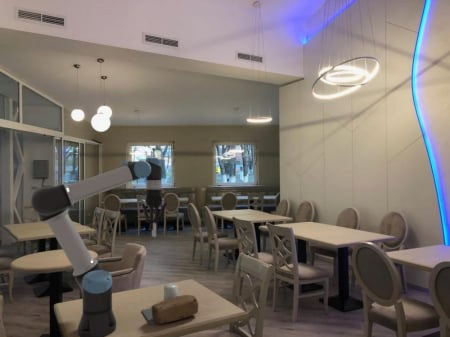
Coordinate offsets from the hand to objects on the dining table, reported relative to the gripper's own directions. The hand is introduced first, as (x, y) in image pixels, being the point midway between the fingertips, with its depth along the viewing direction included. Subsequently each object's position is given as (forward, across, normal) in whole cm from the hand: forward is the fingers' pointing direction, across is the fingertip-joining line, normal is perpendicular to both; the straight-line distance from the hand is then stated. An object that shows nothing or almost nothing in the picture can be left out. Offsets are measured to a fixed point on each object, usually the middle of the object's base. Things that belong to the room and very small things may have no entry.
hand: (153, 236), depth 168 cm
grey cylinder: (+35, +9, +1) cm, 36 cm away
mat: (+34, +2, -12) cm, 36 cm away
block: (+30, +15, -17) cm, 37 cm away
